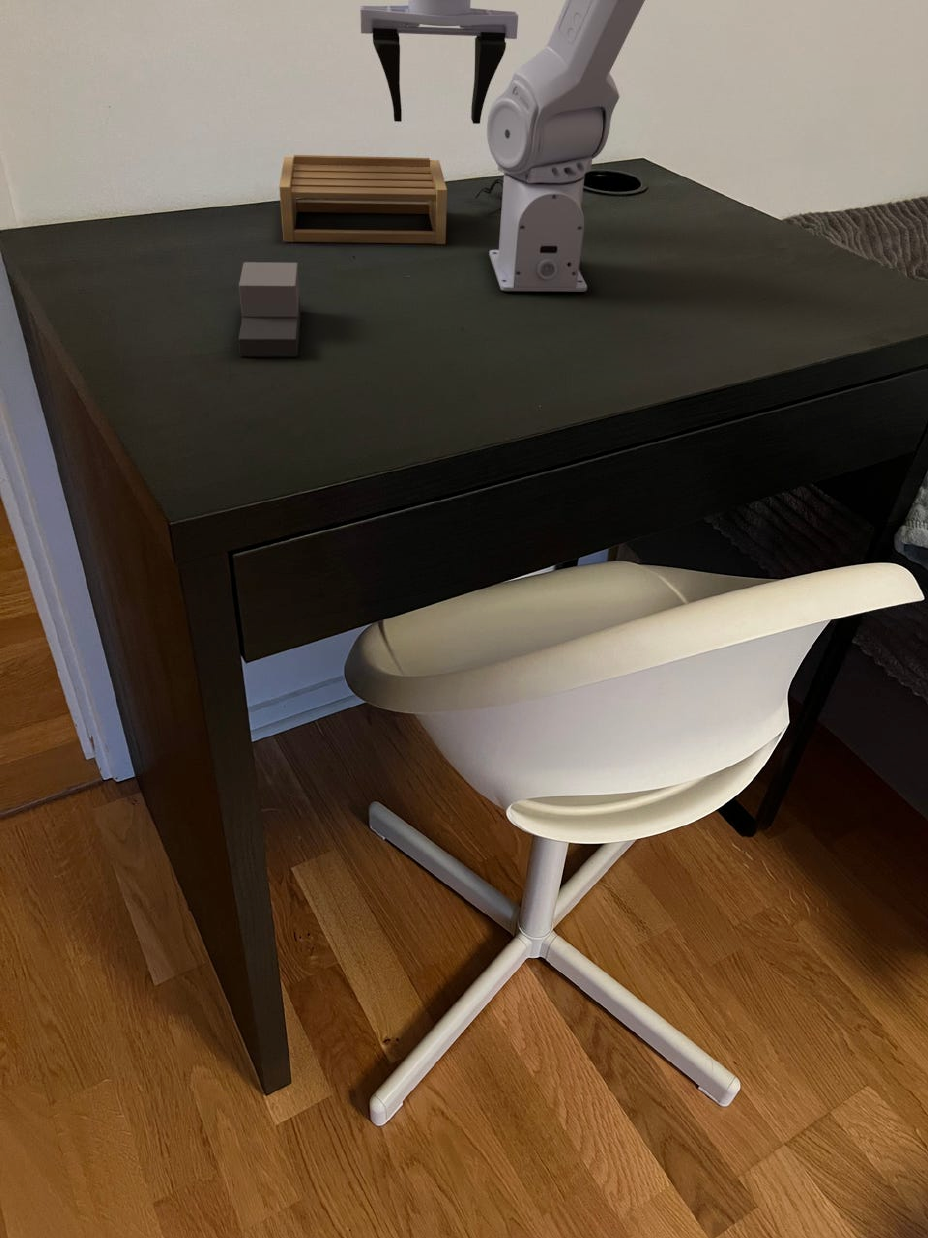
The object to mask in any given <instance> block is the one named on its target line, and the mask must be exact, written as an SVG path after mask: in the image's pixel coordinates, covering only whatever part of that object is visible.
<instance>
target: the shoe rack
mask: <svg viewBox="0 0 928 1238" xmlns="http://www.w3.org/2000/svg"><path fill="white" fill-rule="evenodd" d="M278 190H279V200H280V214H281V227H282V228H281V229H282V239H283V242H284V243H294V242H295V243H356V244H357V243H359V244H360V243H363V244H367V243H368V244H435V245H446V241H447V240H446V238H447V236H446V235H447V210H448V209H447V207H448V187H447V184H446V181H445V177H444V173H443V169H442V167H441V163H440V160H438V159H430V157H403V156H402V157H401V156H400V157H399V156H361V155H360V156H358V155H354V156H353V155H314V154H294V155H293V156H284V157H283V163H282V167H281V175H280V182H279V189H278ZM309 199H310V200H309ZM311 199H313V200H311ZM315 199H316V200H315ZM318 199H321V200H318ZM323 199H324V200H323ZM365 200H366V201H365ZM367 200H368V201H367ZM373 200H374V201H373ZM376 200H378V201H376ZM380 200H381V201H380ZM421 201H422V202H421ZM423 201H424V202H423ZM426 201H427V202H426ZM297 213H336V214H337V213H338V214H339V213H340V214H344V213H345V214H400V215H402V214H403V215H429V221H430V225H431V229H432V230H380V229H379V230H377V229H374V230H372V229H370V230H369V229H363V230H362V229H306V228H305V229H303V228H301V229H300V228H299V229H298V228H296V225H297V215H298V214H297Z"/></svg>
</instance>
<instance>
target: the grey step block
mask: <svg viewBox="0 0 928 1238" xmlns="http://www.w3.org/2000/svg"><path fill="white" fill-rule="evenodd" d="M299 276H300V275H299V263H298V262H268V261H267V262H266V261H265V262H263V261H262V262H261V261H260V262H256V261H254V262H253V261H252V262H251V261H243V264H242V268H241V273H240V278H239V282H238V291H239V300H240V310H241V323H240V328H239V333H238V338H237V341H238V350H239V356H240V357H250V358H251V357H255V358H256V357H258V358H259V357H263V358H264V357H266V358H268V357H271V358H274V357H278V358H279V357H280V358H281V357H283V358H284V357H287V358H288V357H289V358H290V357H295V358H296V357H298V351H299V337H300V327H301V326H300V325H301V313H302V308H301V294H300V293H301V291H300V278H299Z"/></svg>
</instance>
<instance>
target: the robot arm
mask: <svg viewBox="0 0 928 1238" xmlns="http://www.w3.org/2000/svg"><path fill="white" fill-rule="evenodd" d="M471 1H472V0H408V1H407V3H408V5H407V4H406V5H359V6H360V7H359V11H360V13H359V14H360V15H359V16H360V34H367V35H368V34H369V35H371V34H372V45H373V46H374V49H375V52H376V54H377V57H378V59H379V63H380V65H381V67H382V70H383V73H384V76H385V80H386V82H387V86H388V90H389V93H390V99H391V102H392V103H391V104H392V109H393V110H392V111H393V121H394V122H399V123H401V122H402V120H403V119H402V118H403V117H402V116H403V115H402V114H403V113H402V110H403V109H402V96H401V44H400V43H401V42H400V34H406V35H412V34H413V35H435V36H465V37H475V38H474V73H473V74H474V76H473V77H474V78H473V80H474V81H473V87H472V88H473V89H472V97H471V109H470V110H471V111H470V113H471V114H470V119H471V123H472V124H474V125H479V124H481V120H482V114H483V113H482V112H483V108H484V105H485V102H486V97H487V94H488V91H489V88H490V86H491V83H492V80H493V78H494V76H495V73H496V71H497V69H498V67H499V64H500V63H501V61H502V59H503V57H504V55H505V52H506V49H507V42H506V39H507V40H508V39H509V40H517V38H518V26H519V14H518V13H517V12H516V11H508V10H507V11H506V10H494V9H484V8H475V7H474V8H473V7H471V3H472V2H471ZM645 1H646V0H565V1H564V3H563V6H562V8H561V10H560V13H559V15H558V18H557V19H556V22H555V24H554V27H553V28H552V31H551V34H550V36H549V39H548V41H547V44H546V45H545V47H544V48H542V49H541V50H540V51H538V52H537V53H536V54H535V55H534V56H533V57H531V58H529V59H528V60H527V61H526V62H524V63H523V64H522V65H521V66H520V67H519V68H517V69H516V70H515V72H514V73H513V75H512V78H511V80H510V82H509V85H508V86H507V88H506V89H505V90H504V91H503V92H502V93H501V94H499V95H498V96H497V97H496V98H495V99H494V101H493V103H492V105H491V106H490V109H489V113H488V117H487V123H486V138H487V144H488V147H489V150H490V154H491V156H492V158H493V160H494V162H495V163H496V165H497V171H498V172H500V173H503V182H502V185H503V187H502V192H503V193H502V196H501V198H502V199H501V207H502V210H500V211H501V213H500V224H499V225H500V227H499V240H498V241H499V242H498V249H490V250H489V253H488V255H489V259H490V262H491V265H492V268H493V271H494V274H495V278H496V280H497V282H498V283H497V284H498V286H499V289H500V290H501V291H503V292H534V293H535V292H537V293H539V292H543V293H544V292H545V293H546V292H547V293H548V292H557V293H566V292H567V293H584V292H586V291H587V290H588V285H587V283H586V281H585V279H584V278H583V275H582V273H581V271H580V263H581V255H582V247H583V240H584V232H585V217H584V213H583V210H582V202H583V201H582V200H583V192H584V185H585V175H586V174H587V173H589V172H591V171H592V164H593V160H594V159H595V158H597V157H598V156H599V155H601V153H602V151H603V150H604V148H605V146H606V144H607V142H608V138H609V135H610V129H611V121H612V116H613V112H614V109H615V108H616V105H617V103H618V102H619V99H620V94H619V91H618V88H617V85H616V82H615V80H614V78H613V77H612V75H611V70H612V68H613V66H614V65H615V62H616V60H617V58H618V56H619V54H620V52H621V50H622V48H623V46H624V44H625V42H626V40H627V38H628V35H629V33H630V31H631V30H632V27H633V26H634V24H635V22H636V19H637V17H638V16H639V14H640V11H641V9H642V7H643V5H644V3H645ZM420 25H423V26H420Z"/></svg>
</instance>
